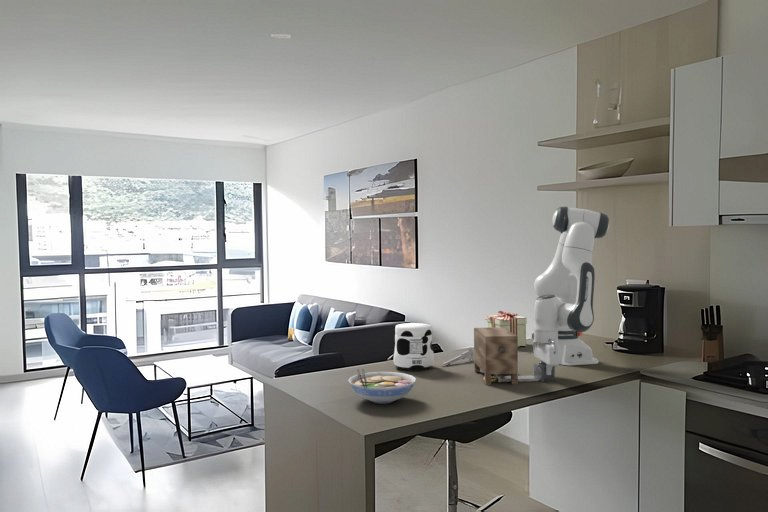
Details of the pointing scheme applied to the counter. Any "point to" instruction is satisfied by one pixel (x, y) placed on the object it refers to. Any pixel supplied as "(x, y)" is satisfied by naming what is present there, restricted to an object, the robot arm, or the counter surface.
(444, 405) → the counter surface
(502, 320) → the gift box
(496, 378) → the token
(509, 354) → the cabinet
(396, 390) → the ramen bowl
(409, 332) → the milk container
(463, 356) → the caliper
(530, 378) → the scraper
